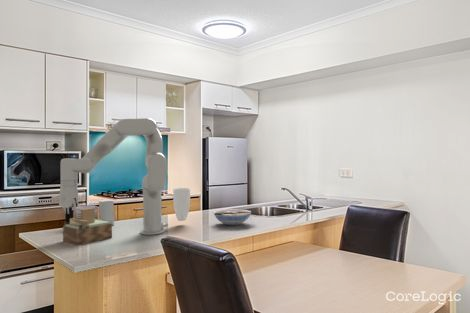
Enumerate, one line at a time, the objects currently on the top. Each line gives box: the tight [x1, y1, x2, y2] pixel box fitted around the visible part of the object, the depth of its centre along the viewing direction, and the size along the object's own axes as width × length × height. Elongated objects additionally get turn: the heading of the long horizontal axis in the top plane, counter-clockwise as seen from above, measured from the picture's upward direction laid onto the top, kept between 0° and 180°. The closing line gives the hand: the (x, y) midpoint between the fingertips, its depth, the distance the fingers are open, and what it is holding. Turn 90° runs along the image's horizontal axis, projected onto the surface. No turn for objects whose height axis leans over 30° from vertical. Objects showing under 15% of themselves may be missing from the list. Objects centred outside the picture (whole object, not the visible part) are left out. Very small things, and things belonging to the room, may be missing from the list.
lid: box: [65, 208, 110, 229], centre depth 175 cm, size 17×12×8 cm
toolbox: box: [62, 221, 113, 246], centre depth 175 cm, size 18×14×9 cm
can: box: [75, 204, 99, 220], centre depth 206 cm, size 11×11×12 cm
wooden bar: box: [69, 217, 89, 227], centre depth 169 cm, size 2×14×2 cm, turn 54°
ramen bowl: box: [212, 208, 253, 226], centre depth 213 cm, size 25×23×8 cm
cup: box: [172, 187, 191, 222], centre depth 211 cm, size 10×10×22 cm
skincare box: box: [98, 199, 115, 226], centre depth 211 cm, size 8×6×15 cm
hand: (69, 221), depth 174 cm, fingers closed
